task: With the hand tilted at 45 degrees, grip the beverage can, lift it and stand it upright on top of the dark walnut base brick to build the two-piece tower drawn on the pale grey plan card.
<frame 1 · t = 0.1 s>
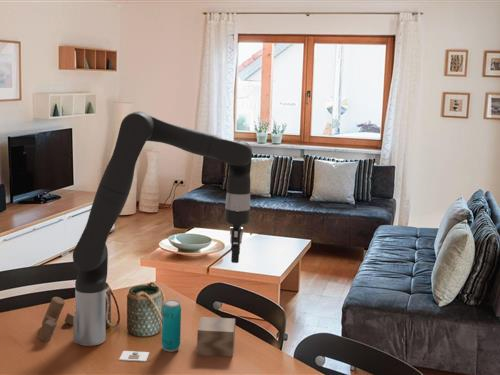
hand: (235, 258, 205), 29 cm above the table, tool pointing down, fingers open, 8 cm apart
beverage can: (170, 349, 207), on the table
tower plan card: (134, 356, 201), on the table
walnut base brick: (216, 348, 209), on the table
wooden block set: (53, 332, 217), on the table
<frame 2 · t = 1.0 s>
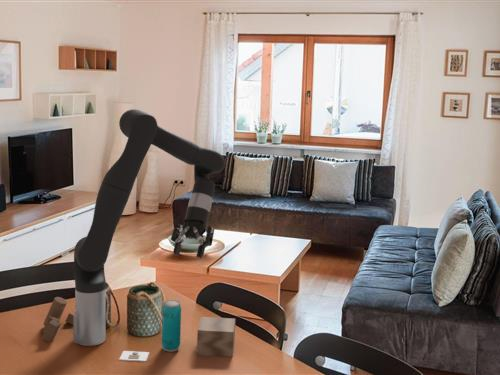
hand: (187, 256, 214), 27 cm above the table, tool tilted 30°, fingers open, 8 cm apart
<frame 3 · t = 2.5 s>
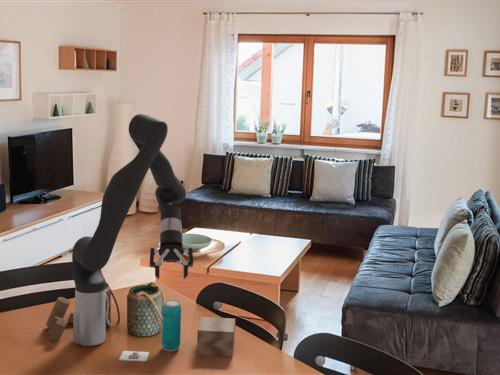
hand: (171, 277, 215), 19 cm above the table, tool tilted 45°, fingers open, 8 cm apart
wooden block set: (59, 332, 217), on the table
everything else where it was.
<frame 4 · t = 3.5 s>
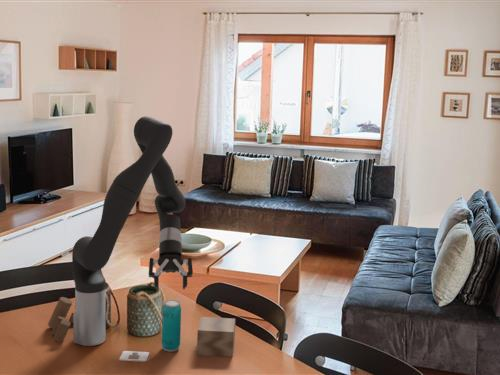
hand: (170, 288, 214), 16 cm above the table, tool tilted 45°, fingers open, 8 cm apart
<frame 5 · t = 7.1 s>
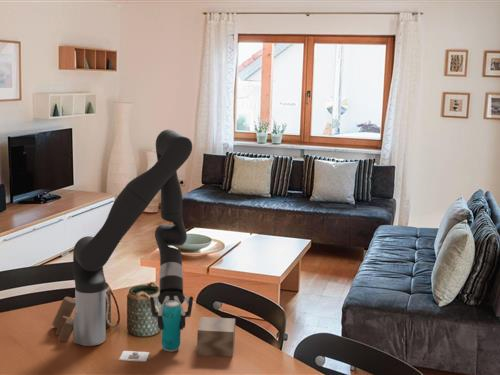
hand: (171, 328, 204), 7 cm above the table, tool tilted 45°, fingers closed on beverage can, 5 cm apart
beverage can: (170, 349, 207), on the table, touching gripper
wooden block set: (66, 331, 217), on the table
when the fingers open (17 cm above the table, at t = 11.8 s): beverage can drops 2 cm, resting on walnut base brick.
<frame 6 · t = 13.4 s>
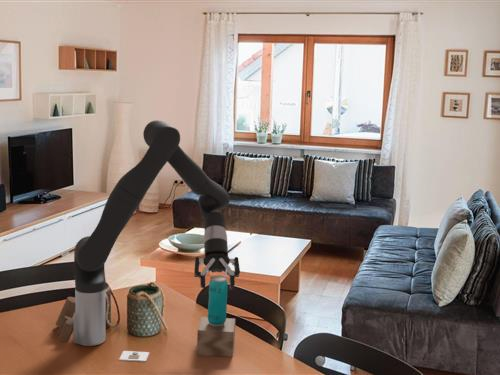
hand: (217, 288, 207), 19 cm above the table, tool tilted 45°, fingers open, 8 cm apart
beverage can: (216, 324, 208), point 8 cm above the table, touching walnut base brick
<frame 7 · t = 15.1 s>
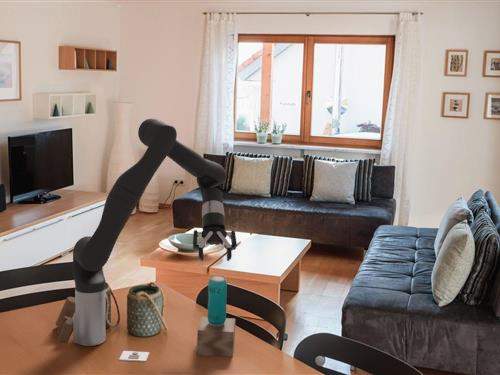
hand: (215, 259, 215), 26 cm above the table, tool tilted 45°, fingers open, 8 cm apart
nothing on the table moved.
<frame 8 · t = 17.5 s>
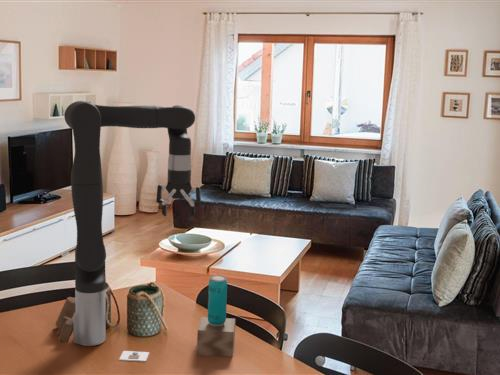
hand: (178, 216, 218), 38 cm above the table, tool pointing down, fingers open, 8 cm apart
wooden block set: (68, 332, 217), on the table, touching arm
everything else where it was.
at the end: beverage can inside the target area on the walnut base brick (0.2 cm from its centre), point 7.8 cm above the walnut base brick's base; beverage can tilted 0°; the gripper is holding nothing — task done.
